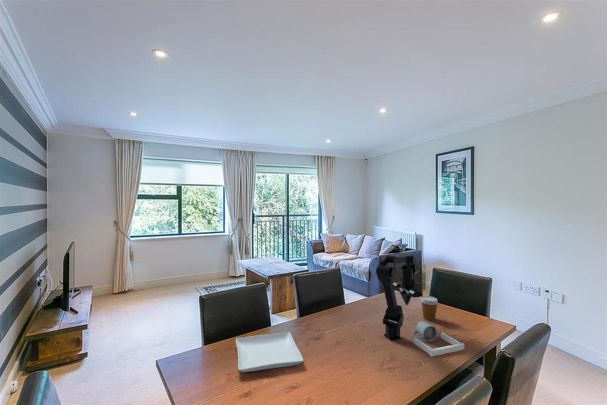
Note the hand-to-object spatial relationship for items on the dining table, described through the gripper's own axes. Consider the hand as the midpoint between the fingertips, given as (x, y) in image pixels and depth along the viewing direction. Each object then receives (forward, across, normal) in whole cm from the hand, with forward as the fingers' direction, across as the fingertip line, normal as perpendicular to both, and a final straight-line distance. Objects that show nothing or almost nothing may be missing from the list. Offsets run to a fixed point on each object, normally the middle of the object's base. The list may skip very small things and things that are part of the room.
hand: (406, 304), depth 163 cm
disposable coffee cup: (+12, +4, -19) cm, 23 cm away
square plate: (+13, -4, +79) cm, 80 cm away
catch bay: (+12, -22, 0) cm, 25 cm away
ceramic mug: (+12, -14, 0) cm, 19 cm away
